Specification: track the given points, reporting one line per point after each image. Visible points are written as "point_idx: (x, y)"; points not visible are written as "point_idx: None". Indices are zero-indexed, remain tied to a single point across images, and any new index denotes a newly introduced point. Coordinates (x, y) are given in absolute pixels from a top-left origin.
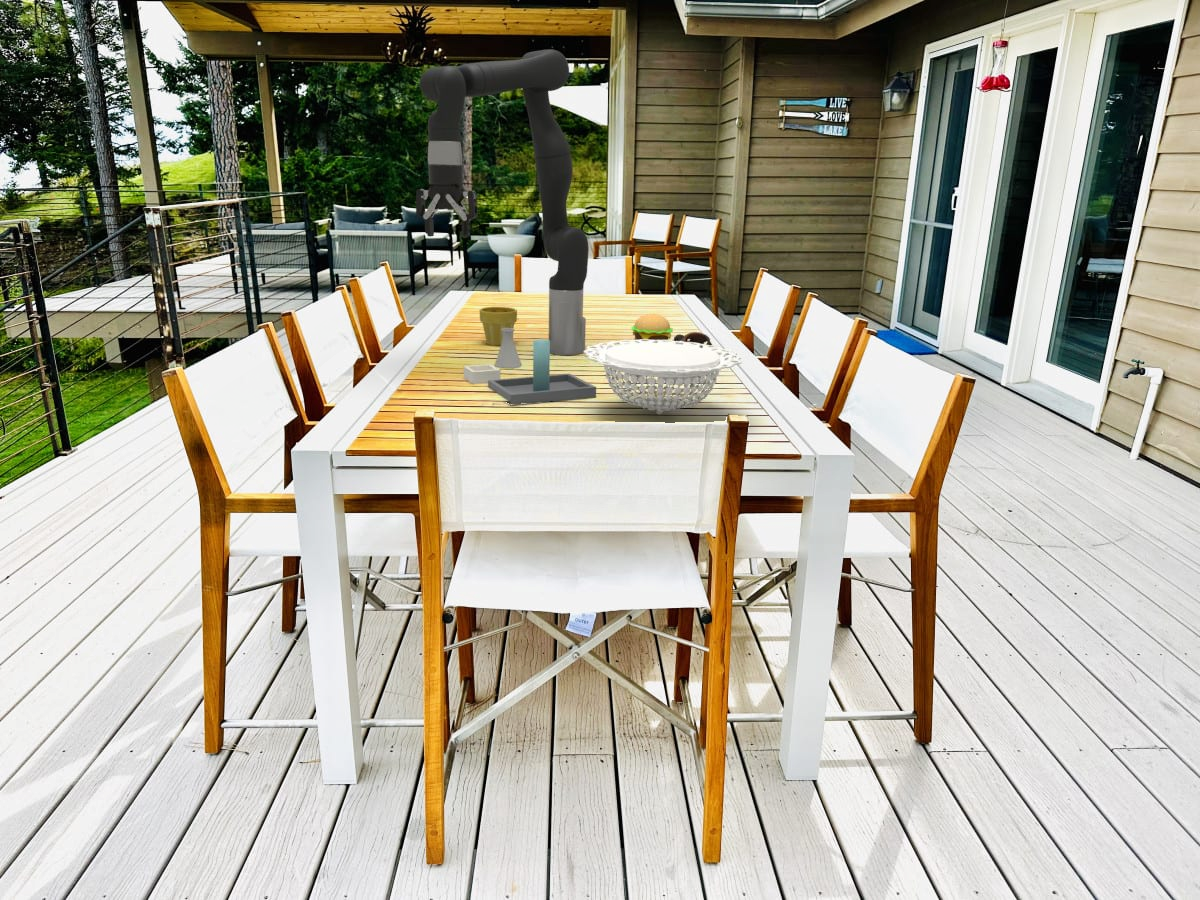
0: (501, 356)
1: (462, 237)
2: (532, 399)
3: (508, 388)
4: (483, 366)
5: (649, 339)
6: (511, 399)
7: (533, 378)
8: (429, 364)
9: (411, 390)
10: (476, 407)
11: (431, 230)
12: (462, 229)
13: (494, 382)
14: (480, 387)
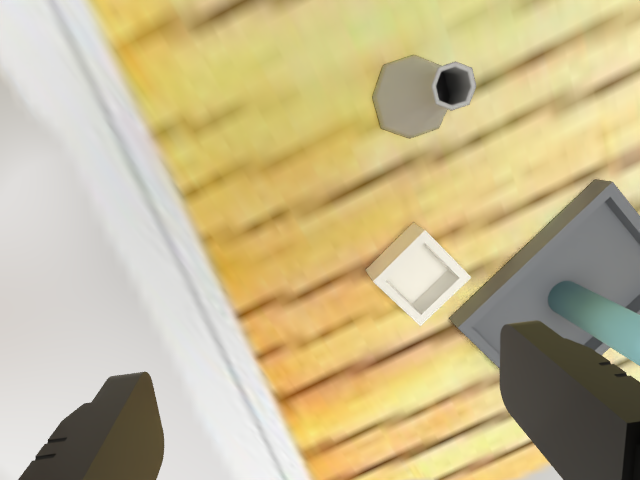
0: (413, 122)
1: (501, 391)
2: None
3: (497, 315)
4: (414, 250)
5: None
6: None
7: (567, 318)
8: (193, 145)
9: (304, 388)
10: (475, 432)
11: (142, 458)
12: (555, 457)
13: (478, 339)
14: None
